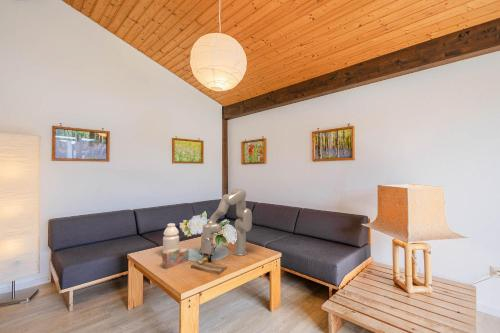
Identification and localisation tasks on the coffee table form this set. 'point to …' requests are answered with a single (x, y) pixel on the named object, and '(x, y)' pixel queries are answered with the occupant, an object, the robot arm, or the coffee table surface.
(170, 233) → the bottle
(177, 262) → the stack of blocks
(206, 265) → the board
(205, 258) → the gauge
